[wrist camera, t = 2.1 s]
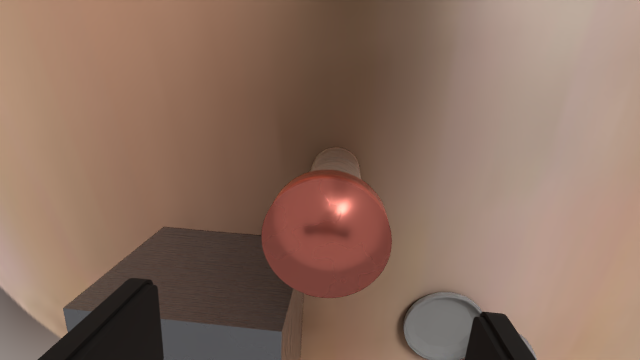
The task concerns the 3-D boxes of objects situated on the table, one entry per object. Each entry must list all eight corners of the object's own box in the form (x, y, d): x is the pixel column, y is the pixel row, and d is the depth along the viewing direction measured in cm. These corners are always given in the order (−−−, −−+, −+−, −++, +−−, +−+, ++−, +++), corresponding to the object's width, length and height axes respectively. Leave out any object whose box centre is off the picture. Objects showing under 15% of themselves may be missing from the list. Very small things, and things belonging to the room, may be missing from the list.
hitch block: (306, 239, 28) (281, 331, 18) (300, 357, 31) (277, 489, 21) (163, 226, 28) (63, 308, 18) (173, 343, 32) (94, 464, 22)
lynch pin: (377, 136, 25) (399, 185, 14) (369, 207, 26) (383, 303, 15) (300, 131, 25) (262, 174, 14) (297, 202, 27) (261, 291, 16)
